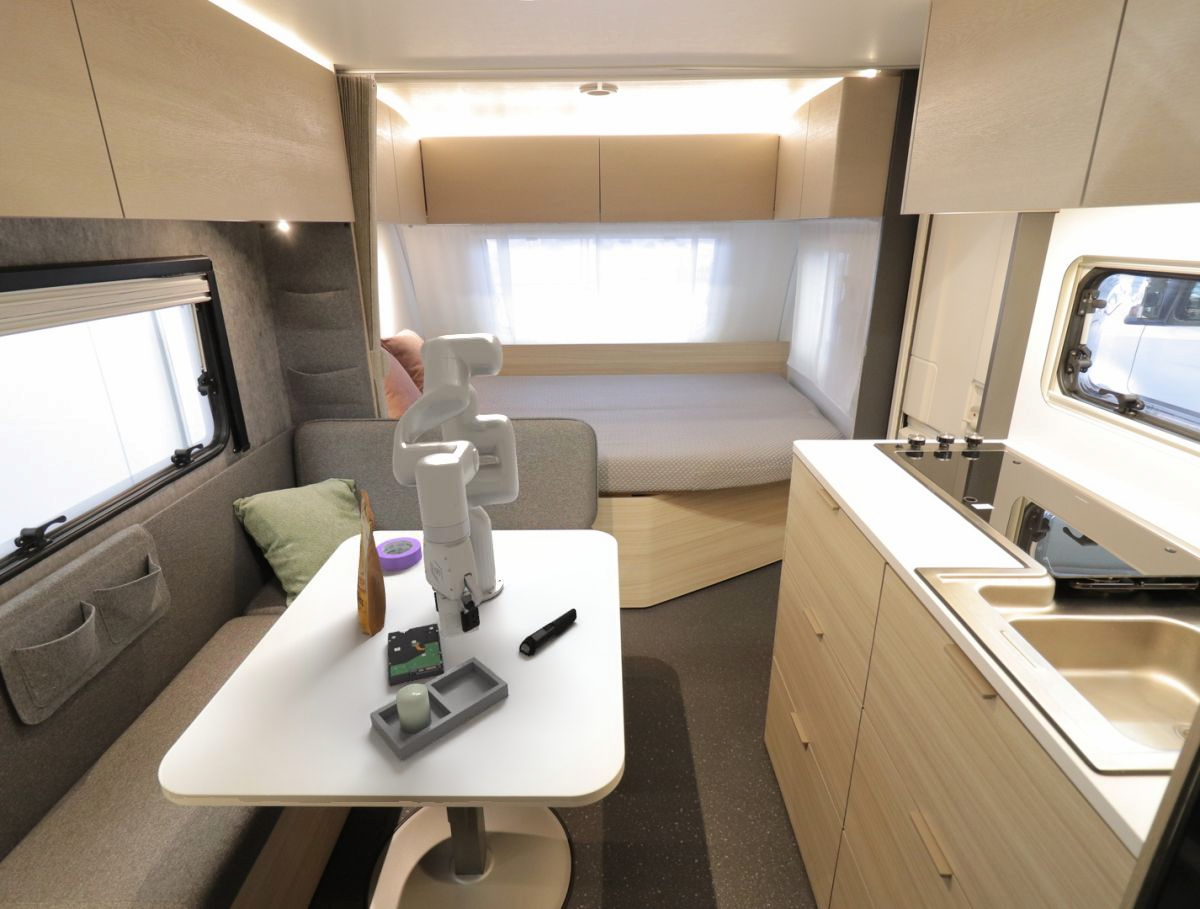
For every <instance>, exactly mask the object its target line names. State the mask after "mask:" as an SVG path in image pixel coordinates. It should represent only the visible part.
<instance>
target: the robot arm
mask: <svg viewBox="0 0 1200 909" xmlns="http://www.w3.org/2000/svg"><path fill="white" fill-rule="evenodd" d="M419 352H420V353H419V354H420V355H419V356H420V359H421V363H422V365H423V368H424V370H423V372H424V373H423V390H422V391H423V392H422V393H423V394H422V395H421V396H420V397H419V398H418V399H416V401H414V402H413V403H412V404H411V405H410V406H409V407H408V409H407V410H406V411H405V412H404V413H403V414H402V416H401V417H400V419H398V422H397V424H396V427H395V430H394V436H393V448H392V462H391V463H392V471H393V475H394V478H395V479H396V481H397V482H398V483H399V484H400V485H402V486H405V487H416V491H417V497H418V504H419V505H418V506H419V512H420V517H421V518H420V519H421V525H422V526H421V528H422V532H423V533H422V534H423V537H422V538H423V540H422V543H423V544H422V545H423V546H422V548H423V550H422V554H423V564H424V573H425V580H426V582H427V584H429V586H431V589H432V591H433V597H434V603H435V611H436V612H437V613H439V611H438V604H437V597H436V590H438V591H439V592H440V593H442V594H443V595H445V596H446V597H448V598H449V599H451V600H454V601H456V600H458V601H459V603H460V606H461V608H462V611H461V612H460V615H461V623H462V631H463V632H468V631H470V630H472V629H473V628H475V627H477V626H478V627H479V626H480V625H481V621H480V611H479V608H480V606H481V604H482V602H484V601H487V600H490V599H493V598H494V597H496V596H497V595H499V594H500V593H501V592H502V590H503V589H504V580H503V578H502V577H501V575H499V574H498V573H496V564H495V562H496V561H495V554H494V553H495V552H494V543H493V542H494V541H493V540H494V539H493V530H492V521H491V519H490V517H489V514H488V513H487V512H486V510H485V509H484V508H483V507H482V506H487V505H498V504H507V503H512V502H514V501H515V500H517V498H518V495H519V490H520V485H519V482H520V481H519V472H518V458H517V451H516V450H517V449H516V447H517V446H516V436H515V431H514V427H513V423H512V420H511V419H510V418H509V417H508V416H507V415H504V414H498V413H494V414H481V413H480V410H479V409H480V408H479V406H480V405H479V395H478V392H477V390H476V389H475V388H474V387H473V385H472V384H471V383H470V378H477V377H479V378H480V377H492V376H493V377H494V376H498V375H499V374H500V372H501V370H502V367H503V364H504V352H503V346H502V343H501V341H500V339H499V338H498V336H497V335H495V334H492V333H467V334H466V333H465V334H447V335H446V334H445V335H440V336H437V337H434V338H430V339H427V340H426V341H424V342H422V343H421V345H420V349H419ZM440 425H441V432H442V433H441V434H442V435H441V436H442V440H435V441H434V440H432V441H418V442H416V440H418V438H419V437H421V435H423V434H424V433H425V432H427V431H430V430H431V429H433V428H436V427H438V426H440ZM488 457H489V458H490V457H493V458H495V459H496V461H495V462H494V461H493V462H481V463H480V458H488ZM466 587H467V589H468V591H466V592H464V593H463V591H464V588H466ZM435 589H436V590H435ZM467 595H470V597H471V601H469V602H468V603H467V604H466V602H465V600H464V597H465V596H467Z"/></svg>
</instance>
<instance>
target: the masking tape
mask: <svg viewBox="0 0 1200 909" xmlns="http://www.w3.org/2000/svg"><path fill="white" fill-rule="evenodd" d="M376 549H377V551H378V555H379V558H380V562H381V567H382V570H385V571H400V570H404V569H407V568H410V567H412V566H415V565H417V564H418V563H419V562H420V561H421V560H422V558H423V550H422V545H421V541H420V540H418V539H416V538H414V537H405V536H404V537H394V538H392V539H387V540H385V541H383V542H381V543H380V544H378V545H376Z"/></svg>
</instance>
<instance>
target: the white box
mask: <svg viewBox="0 0 1200 909" xmlns="http://www.w3.org/2000/svg"><path fill="white" fill-rule="evenodd" d="M435 590H436V589H435ZM466 591H468V589H467V587H466V588H464V591H463V593H464V592H466ZM435 592H436V597H437V604H438V611H439V612H438V616H439V617H438V618H439V624H440V628H441V633H442V636H443V639H448V638H453V637H457V636H460V635H461V636H462V635H465V634H469V633H474V632H478V631H479V626H477V627H475V628H473V629H472V630H470V631H468V632H463V631H462V623H461V615H460V612H461V611H462V608H461V606H460V603H459V601H458V600H456V601H454V600H451V599H449V598H448V597H446V596H445V595H443V594H442V593H440V592H439V591H438V590H436V591H435ZM464 600H465V602H466V604H467V603H468V602H469V601H471V597H470V595H467V596H465V597H464Z"/></svg>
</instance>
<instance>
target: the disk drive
mask: <svg viewBox="0 0 1200 909" xmlns="http://www.w3.org/2000/svg"><path fill="white" fill-rule="evenodd" d="M439 629H440V628H439V624H438V622H437V623H432V624H428V625H422V626H418V627H417V626H416V627H411V628H408V629H407V630H406V631H404V632H402V631H400V630H398V631H392V632H388V634H387V656H388V657H387V658H388V659H387V661H388V662H387V666H388V667H387V676H388V677H387V678H388V684H389V686H390V687H394V686H397V685H402V684H406V683H412V682H415V681H420V680H424V679H428V678H433V677H434V678H435V677H438V676H440V675H442V674H444V673H445V667H444V660H443V659H444V658H443V652H442V647H441V636H440V630H439Z"/></svg>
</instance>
